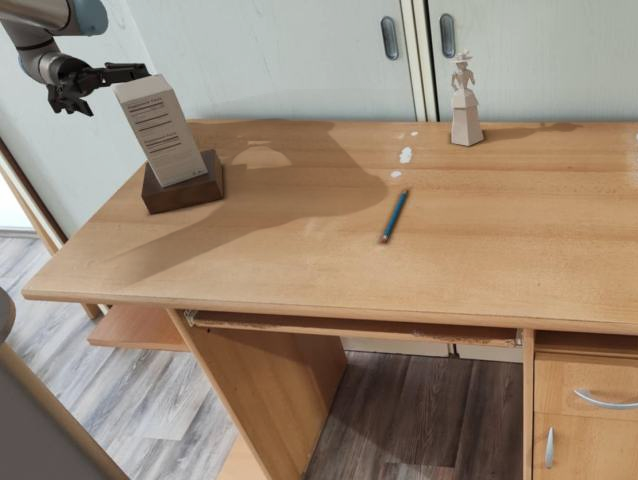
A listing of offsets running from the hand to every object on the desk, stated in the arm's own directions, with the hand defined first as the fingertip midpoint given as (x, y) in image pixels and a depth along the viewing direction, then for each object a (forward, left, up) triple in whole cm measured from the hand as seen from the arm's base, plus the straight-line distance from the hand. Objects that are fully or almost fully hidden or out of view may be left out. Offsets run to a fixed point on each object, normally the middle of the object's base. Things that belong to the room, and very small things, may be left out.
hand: (122, 95), depth 112 cm
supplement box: (+6, -8, -14) cm, 17 cm away
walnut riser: (+6, -8, -17) cm, 20 cm away
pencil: (+43, -35, -18) cm, 58 cm away
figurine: (+65, -12, -18) cm, 68 cm away
